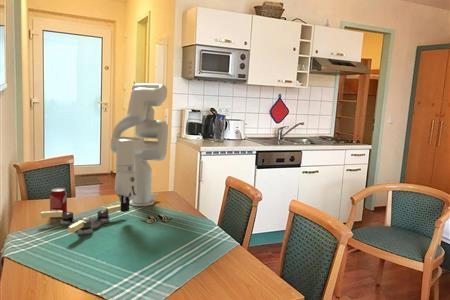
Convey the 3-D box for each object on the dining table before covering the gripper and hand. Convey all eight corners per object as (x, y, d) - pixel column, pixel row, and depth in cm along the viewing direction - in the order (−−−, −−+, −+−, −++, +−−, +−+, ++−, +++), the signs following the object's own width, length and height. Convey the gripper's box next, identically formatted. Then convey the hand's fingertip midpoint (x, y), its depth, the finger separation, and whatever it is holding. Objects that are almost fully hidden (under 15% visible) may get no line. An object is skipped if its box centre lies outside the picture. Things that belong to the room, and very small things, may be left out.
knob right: (73, 217, 160) (73, 208, 159) (73, 220, 156) (73, 211, 155) (40, 219, 156) (39, 210, 155) (38, 222, 152) (38, 213, 151)
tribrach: (96, 215, 170) (96, 207, 170) (121, 226, 158) (121, 218, 157) (58, 223, 157) (58, 215, 157) (82, 236, 145) (82, 227, 144)
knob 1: (83, 225, 151) (83, 216, 150) (93, 226, 150) (93, 217, 149) (63, 236, 138) (63, 227, 138) (74, 237, 137) (74, 228, 137)
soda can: (60, 219, 163) (60, 192, 161) (46, 217, 164) (46, 190, 162) (70, 214, 169) (69, 188, 168) (56, 213, 171) (56, 187, 169)
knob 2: (101, 219, 159) (101, 210, 158) (95, 216, 161) (95, 208, 161) (127, 213, 168) (127, 205, 168) (121, 210, 171) (121, 203, 171)
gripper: (143, 170, 158) (142, 213, 160) (122, 165, 168) (122, 206, 170) (128, 171, 152) (127, 216, 154) (107, 166, 162) (107, 209, 164)
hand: (124, 211), depth 162 cm, fingers closed
